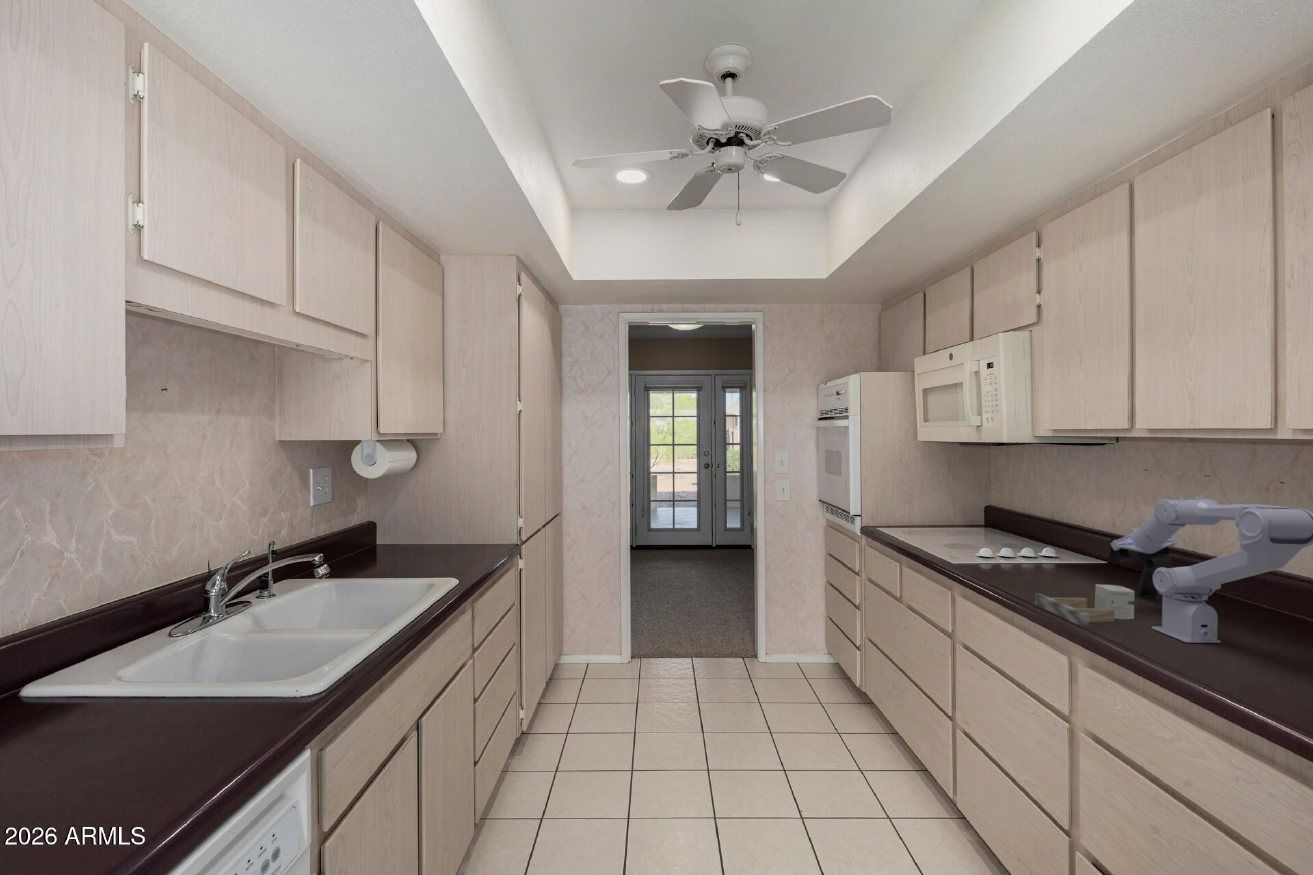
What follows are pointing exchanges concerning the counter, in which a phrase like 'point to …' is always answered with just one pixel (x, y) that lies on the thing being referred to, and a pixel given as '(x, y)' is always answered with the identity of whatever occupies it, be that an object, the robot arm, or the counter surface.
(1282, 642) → the counter surface
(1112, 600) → the skincare box
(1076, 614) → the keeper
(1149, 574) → the door stopper
